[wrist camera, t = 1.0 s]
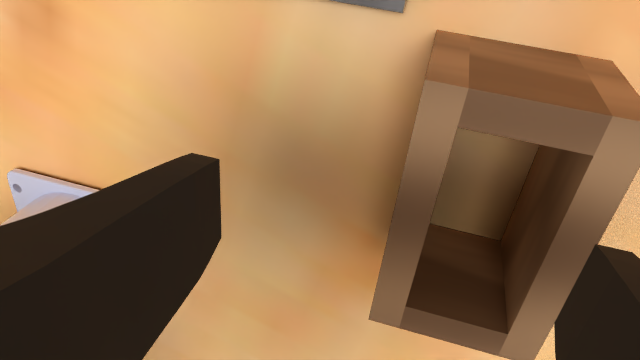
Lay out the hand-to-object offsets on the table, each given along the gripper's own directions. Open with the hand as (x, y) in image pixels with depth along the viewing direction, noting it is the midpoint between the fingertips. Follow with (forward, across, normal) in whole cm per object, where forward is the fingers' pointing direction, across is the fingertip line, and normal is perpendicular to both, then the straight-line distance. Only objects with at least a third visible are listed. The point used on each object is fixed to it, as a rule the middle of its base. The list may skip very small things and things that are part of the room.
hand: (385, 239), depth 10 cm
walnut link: (+10, -3, +3) cm, 10 cm away
